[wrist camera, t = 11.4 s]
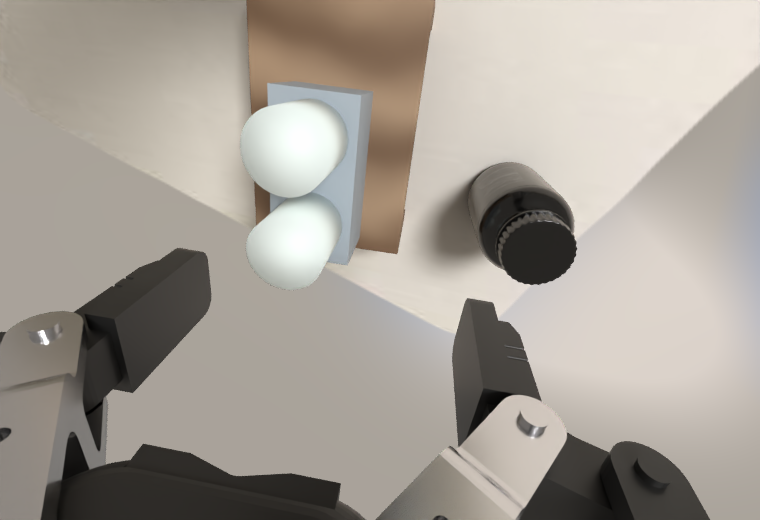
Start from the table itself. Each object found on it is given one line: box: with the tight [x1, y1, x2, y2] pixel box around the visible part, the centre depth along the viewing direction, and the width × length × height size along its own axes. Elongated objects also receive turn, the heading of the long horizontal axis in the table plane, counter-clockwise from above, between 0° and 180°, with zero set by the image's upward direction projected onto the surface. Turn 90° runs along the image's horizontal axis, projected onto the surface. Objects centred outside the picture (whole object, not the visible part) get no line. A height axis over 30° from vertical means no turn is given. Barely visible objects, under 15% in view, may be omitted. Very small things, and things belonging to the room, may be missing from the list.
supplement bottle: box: [468, 162, 577, 285], centre depth 30 cm, size 7×7×12 cm
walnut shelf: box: [247, 0, 435, 254], centre depth 30 cm, size 18×12×7 cm, turn 174°
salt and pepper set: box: [240, 81, 373, 290], centre depth 24 cm, size 11×6×10 cm, turn 174°
